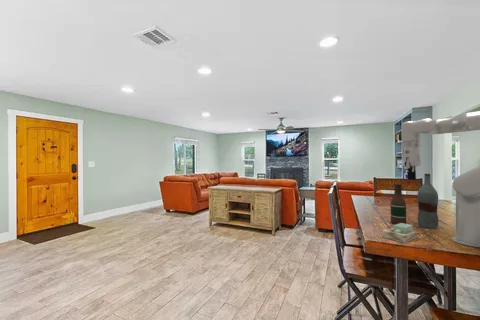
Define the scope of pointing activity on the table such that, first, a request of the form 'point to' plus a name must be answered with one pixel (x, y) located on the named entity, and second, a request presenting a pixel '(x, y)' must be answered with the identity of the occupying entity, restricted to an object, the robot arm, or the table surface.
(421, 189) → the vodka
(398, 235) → the cradle
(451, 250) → the table surface
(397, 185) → the beer bottle
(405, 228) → the bottle
